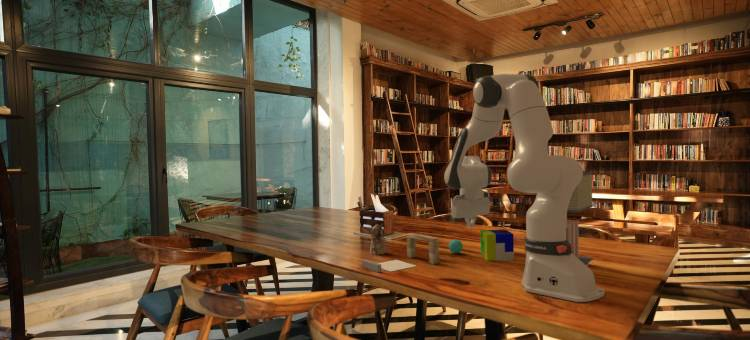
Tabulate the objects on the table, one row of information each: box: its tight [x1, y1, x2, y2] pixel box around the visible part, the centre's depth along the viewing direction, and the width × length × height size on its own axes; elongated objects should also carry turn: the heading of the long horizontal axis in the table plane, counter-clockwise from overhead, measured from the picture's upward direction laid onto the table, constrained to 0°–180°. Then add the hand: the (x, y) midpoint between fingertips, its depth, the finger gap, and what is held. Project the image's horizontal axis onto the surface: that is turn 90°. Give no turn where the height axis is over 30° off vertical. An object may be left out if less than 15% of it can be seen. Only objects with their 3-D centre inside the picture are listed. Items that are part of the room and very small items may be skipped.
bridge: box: [406, 232, 440, 265], centre depth 161 cm, size 3×15×9 cm, turn 35°
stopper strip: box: [361, 258, 382, 273], centre depth 148 cm, size 10×2×2 cm, turn 35°
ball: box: [448, 239, 463, 254], centre depth 171 cm, size 6×6×6 cm
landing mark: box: [377, 259, 417, 273], centre depth 153 cm, size 12×12×1 cm
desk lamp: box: [535, 172, 594, 267], centre depth 147 cm, size 18×14×33 cm
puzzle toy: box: [480, 229, 515, 262], centre depth 163 cm, size 10×10×10 cm
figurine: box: [369, 223, 388, 256], centre depth 174 cm, size 7×7×12 cm
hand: (470, 226), depth 176 cm, fingers closed
